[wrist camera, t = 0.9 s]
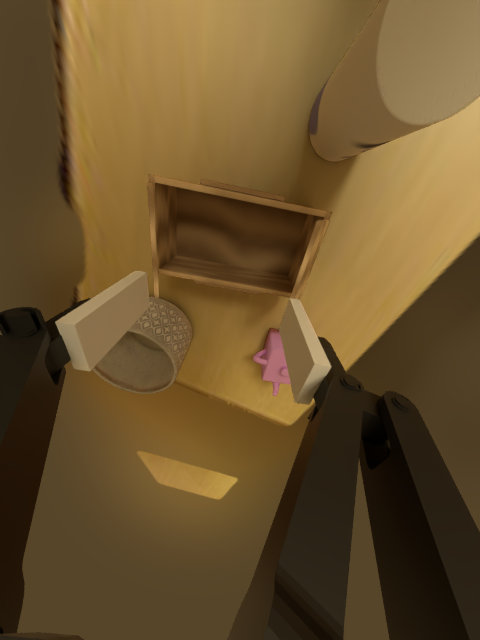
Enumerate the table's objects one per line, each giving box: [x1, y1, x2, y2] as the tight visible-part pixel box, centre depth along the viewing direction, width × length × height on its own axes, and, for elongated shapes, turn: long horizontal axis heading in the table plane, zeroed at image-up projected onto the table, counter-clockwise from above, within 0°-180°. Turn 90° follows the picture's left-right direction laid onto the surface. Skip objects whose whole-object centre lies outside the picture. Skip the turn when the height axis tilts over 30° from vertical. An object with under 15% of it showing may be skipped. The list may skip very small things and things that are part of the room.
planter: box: [93, 297, 192, 394], centre depth 46 cm, size 19×19×14 cm
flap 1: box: [147, 183, 159, 298], centre depth 26 cm, size 12×1×10 cm, turn 170°
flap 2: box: [290, 220, 330, 300], centre depth 27 cm, size 12×1×10 cm, turn 170°
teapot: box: [253, 328, 291, 396], centre depth 49 cm, size 15×13×11 cm
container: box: [309, 0, 480, 162], centre depth 22 cm, size 10×10×20 cm
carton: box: [148, 174, 332, 297], centre depth 35 cm, size 16×26×10 cm, turn 80°
